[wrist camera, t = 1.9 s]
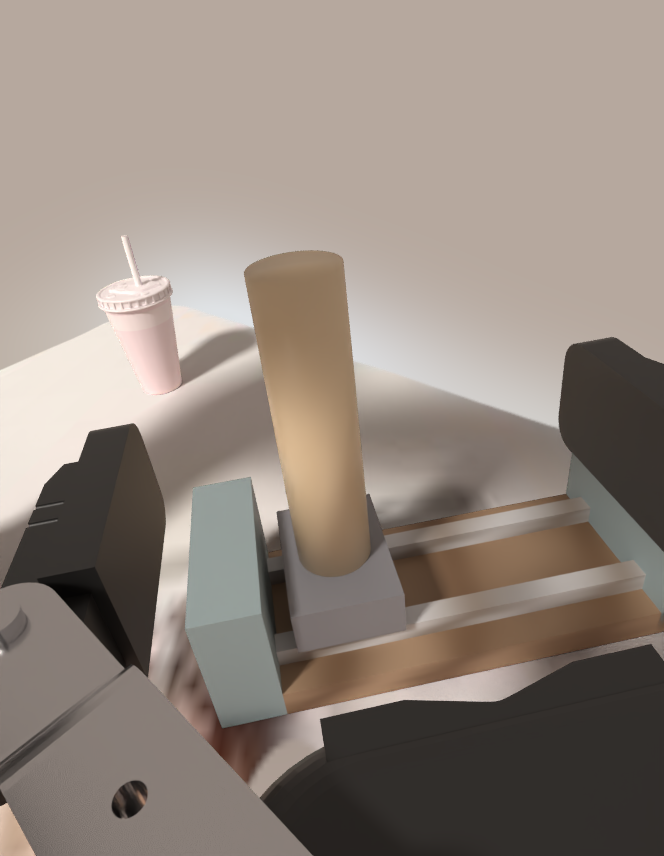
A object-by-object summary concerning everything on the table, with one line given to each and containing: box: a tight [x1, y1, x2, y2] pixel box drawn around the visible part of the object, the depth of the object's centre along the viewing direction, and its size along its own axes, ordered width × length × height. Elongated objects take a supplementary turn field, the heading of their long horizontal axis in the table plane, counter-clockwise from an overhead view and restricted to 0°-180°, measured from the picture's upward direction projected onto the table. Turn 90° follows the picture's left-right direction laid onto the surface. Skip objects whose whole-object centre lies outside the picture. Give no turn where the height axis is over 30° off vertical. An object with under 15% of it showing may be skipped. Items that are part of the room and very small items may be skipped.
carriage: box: [244, 250, 406, 653], centre depth 25 cm, size 5×7×16 cm
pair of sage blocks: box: [185, 453, 664, 728], centre depth 30 cm, size 24×9×7 cm, turn 100°
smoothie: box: [96, 235, 182, 395], centre depth 52 cm, size 6×6×14 cm
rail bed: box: [222, 494, 664, 728], centre depth 31 cm, size 24×9×2 cm, turn 100°
